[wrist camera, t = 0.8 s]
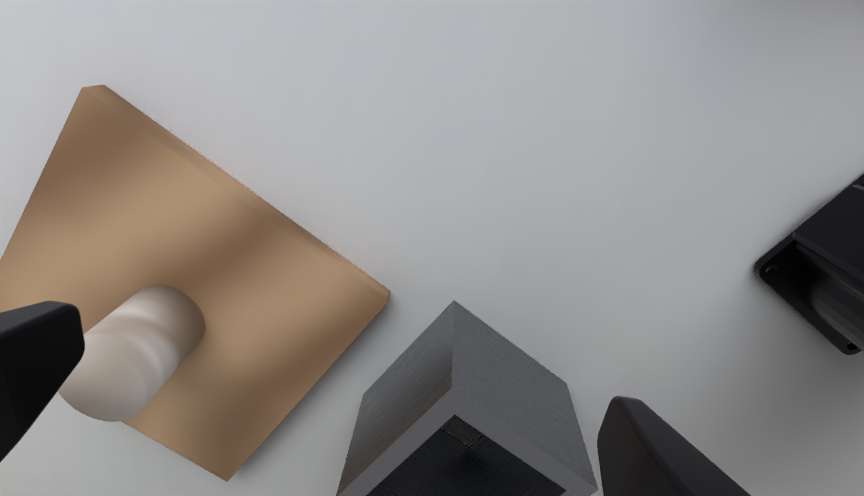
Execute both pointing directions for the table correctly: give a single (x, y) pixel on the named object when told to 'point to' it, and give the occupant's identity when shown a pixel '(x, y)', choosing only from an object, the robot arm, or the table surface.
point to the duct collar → (478, 406)
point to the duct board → (179, 287)
